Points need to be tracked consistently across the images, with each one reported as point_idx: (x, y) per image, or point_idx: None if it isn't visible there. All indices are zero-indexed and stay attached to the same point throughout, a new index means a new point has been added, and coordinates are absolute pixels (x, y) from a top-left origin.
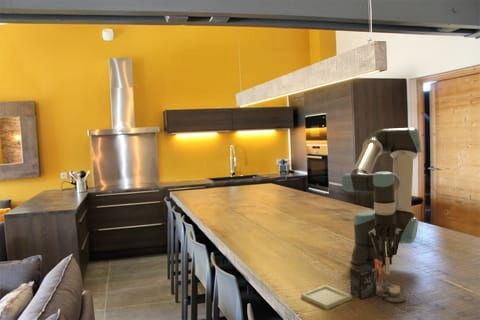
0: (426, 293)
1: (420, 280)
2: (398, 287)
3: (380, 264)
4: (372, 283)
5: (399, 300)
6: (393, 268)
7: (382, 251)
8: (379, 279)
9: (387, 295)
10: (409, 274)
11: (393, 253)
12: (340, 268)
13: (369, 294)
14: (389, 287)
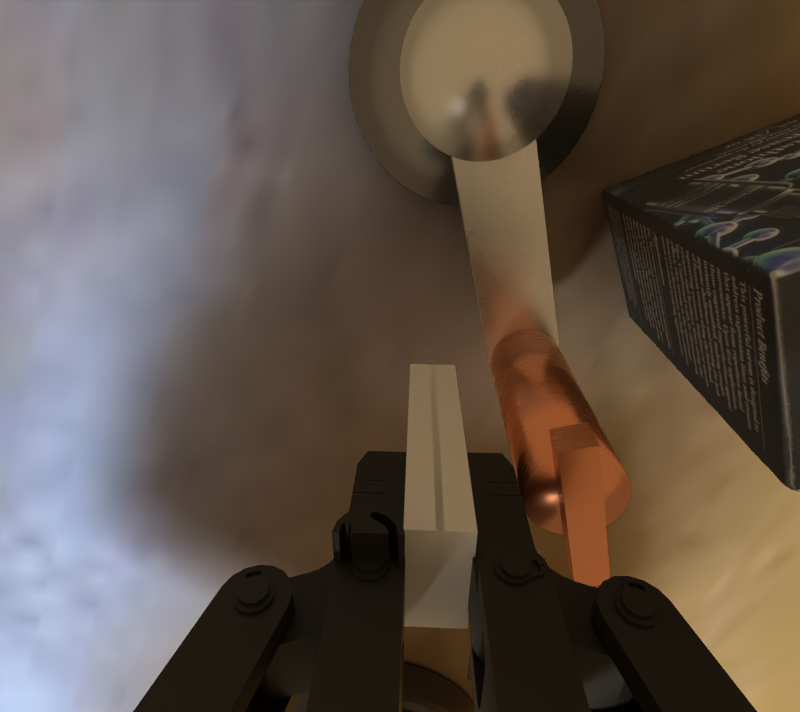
0: (110, 161)
1: (106, 426)
2: (431, 24)
3: (589, 425)
4: (729, 188)
5: None
6: None
7: (578, 682)
8: (537, 337)
9: None
10: (164, 530)
11: (291, 603)
12: None
13: (715, 152)
14: (554, 45)
